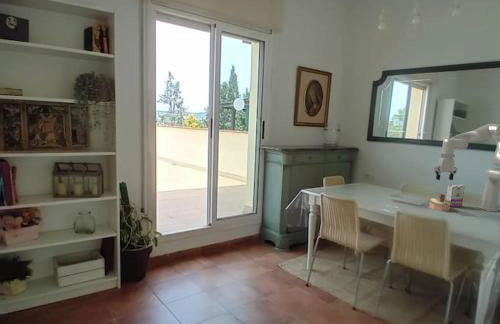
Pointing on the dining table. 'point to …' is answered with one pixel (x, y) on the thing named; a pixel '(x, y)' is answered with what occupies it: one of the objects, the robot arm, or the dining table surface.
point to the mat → (464, 213)
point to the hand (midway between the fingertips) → (444, 179)
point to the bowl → (439, 207)
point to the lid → (440, 200)
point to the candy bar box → (455, 195)
